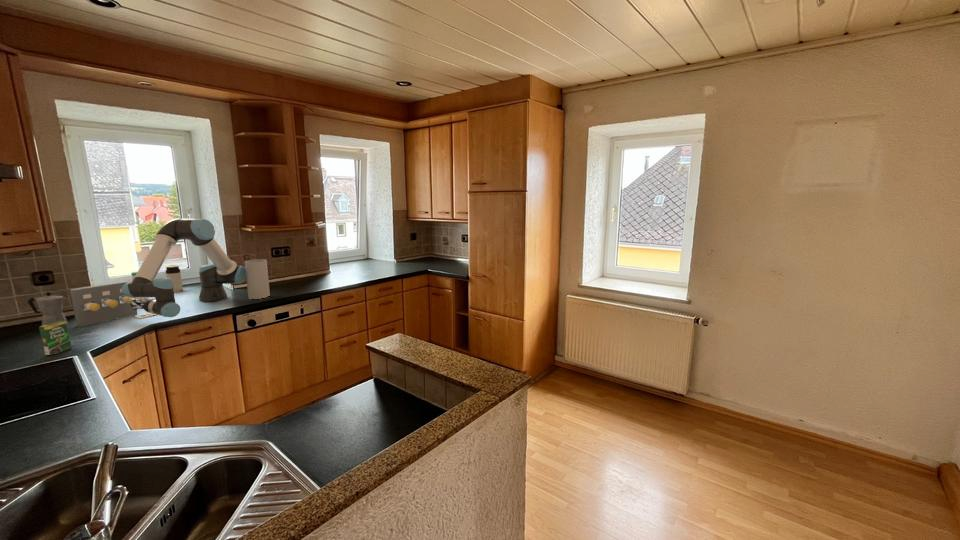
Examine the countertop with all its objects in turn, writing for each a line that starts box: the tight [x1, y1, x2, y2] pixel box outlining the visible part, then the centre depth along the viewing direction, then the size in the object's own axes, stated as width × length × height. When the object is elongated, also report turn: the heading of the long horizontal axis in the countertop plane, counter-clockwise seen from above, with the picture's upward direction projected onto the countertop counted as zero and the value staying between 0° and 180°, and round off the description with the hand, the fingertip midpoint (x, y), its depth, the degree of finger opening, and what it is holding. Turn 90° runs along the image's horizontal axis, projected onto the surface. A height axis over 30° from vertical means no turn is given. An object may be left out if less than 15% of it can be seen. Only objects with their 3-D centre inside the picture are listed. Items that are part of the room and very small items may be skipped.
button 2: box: [119, 295, 135, 304], centre depth 210 cm, size 7×4×4 cm, turn 65°
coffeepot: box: [27, 291, 69, 326], centre depth 194 cm, size 15×9×18 cm, turn 104°
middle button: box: [102, 298, 118, 308], centre depth 203 cm, size 7×4×4 cm, turn 65°
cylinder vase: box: [244, 258, 271, 300], centre depth 254 cm, size 12×12×25 cm
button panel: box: [69, 280, 138, 328], centre depth 205 cm, size 4×24×19 cm, turn 155°
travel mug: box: [165, 264, 184, 293], centre depth 268 cm, size 8×8×18 cm
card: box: [133, 312, 158, 320], centre depth 215 cm, size 6×11×1 cm, turn 155°
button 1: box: [82, 301, 100, 311], centre depth 197 cm, size 7×4×4 cm, turn 65°
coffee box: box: [38, 321, 73, 356], centre depth 163 cm, size 8×3×13 cm, turn 171°
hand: (131, 300), depth 208 cm, fingers closed
